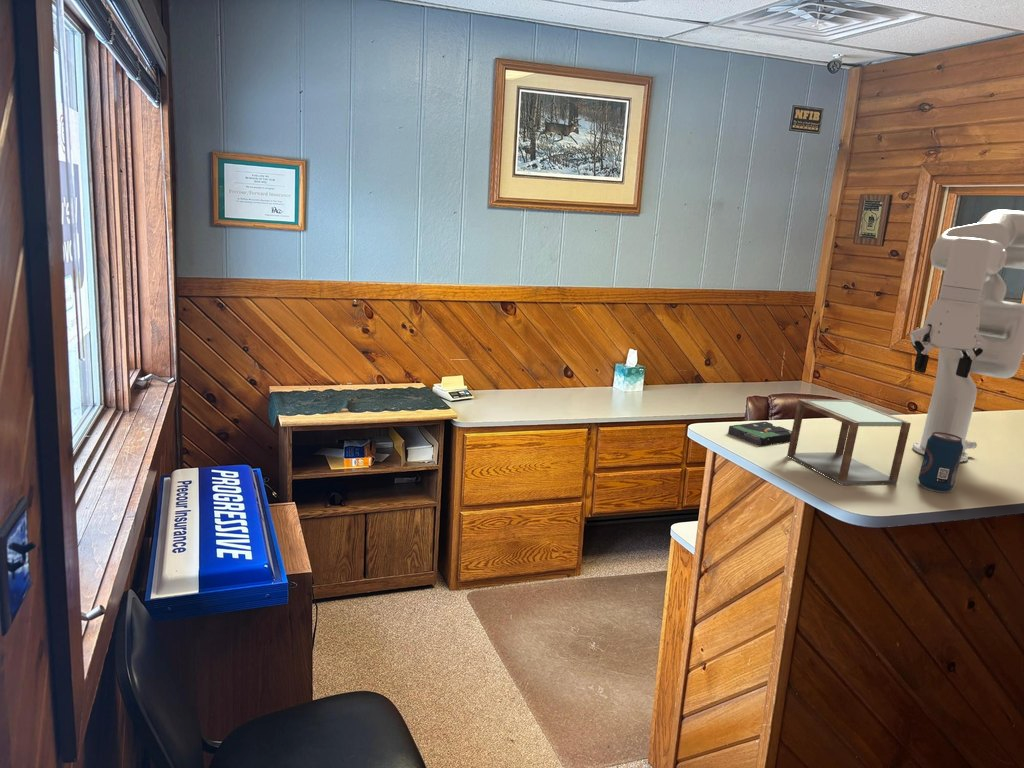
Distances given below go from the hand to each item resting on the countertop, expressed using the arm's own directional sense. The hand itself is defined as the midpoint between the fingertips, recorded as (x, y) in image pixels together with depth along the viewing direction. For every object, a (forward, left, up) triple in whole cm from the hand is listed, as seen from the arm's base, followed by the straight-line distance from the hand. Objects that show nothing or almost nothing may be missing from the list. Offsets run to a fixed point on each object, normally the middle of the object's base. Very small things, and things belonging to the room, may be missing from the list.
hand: (940, 374), depth 166 cm
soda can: (-1, +5, -25) cm, 25 cm away
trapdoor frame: (+15, -7, -25) cm, 30 cm away
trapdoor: (+15, -7, -12) cm, 20 cm away
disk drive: (+19, -30, -25) cm, 44 cm away
